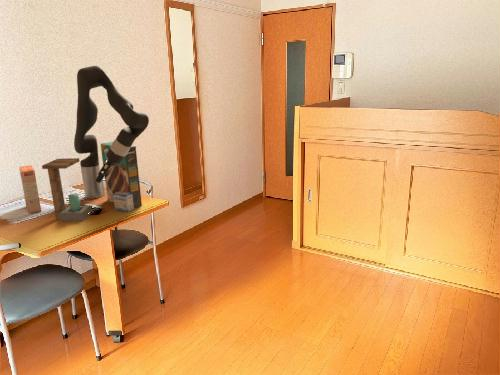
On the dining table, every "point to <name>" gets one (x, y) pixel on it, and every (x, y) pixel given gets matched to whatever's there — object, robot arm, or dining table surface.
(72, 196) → the peg
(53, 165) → the wooden pedestal stand
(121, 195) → the medicine box
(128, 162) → the cake mix box
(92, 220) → the dining table surface
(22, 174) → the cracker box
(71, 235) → the dining table surface
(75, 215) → the socket block
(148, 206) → the dining table surface
